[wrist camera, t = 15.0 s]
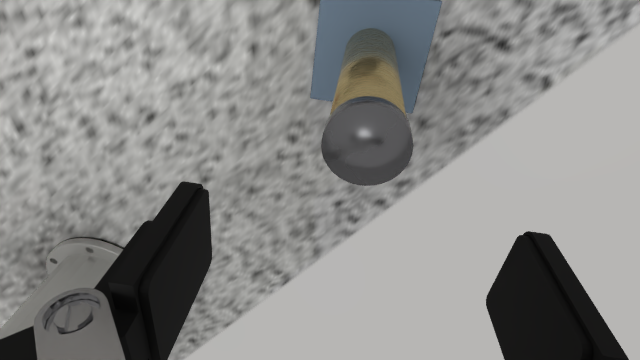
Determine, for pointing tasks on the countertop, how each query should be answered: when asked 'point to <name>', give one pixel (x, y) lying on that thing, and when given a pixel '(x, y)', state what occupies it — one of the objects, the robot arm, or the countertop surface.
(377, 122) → the spice shaker
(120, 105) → the countertop surface
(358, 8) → the rubber mat
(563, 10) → the countertop surface
